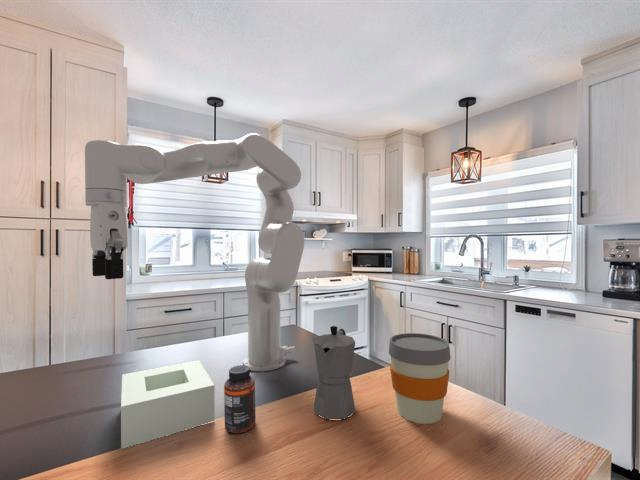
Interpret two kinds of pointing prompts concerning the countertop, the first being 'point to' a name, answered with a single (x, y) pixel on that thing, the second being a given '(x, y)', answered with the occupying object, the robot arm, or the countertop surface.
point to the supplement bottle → (239, 400)
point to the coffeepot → (334, 374)
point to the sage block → (165, 401)
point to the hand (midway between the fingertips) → (107, 277)
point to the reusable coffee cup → (419, 375)
